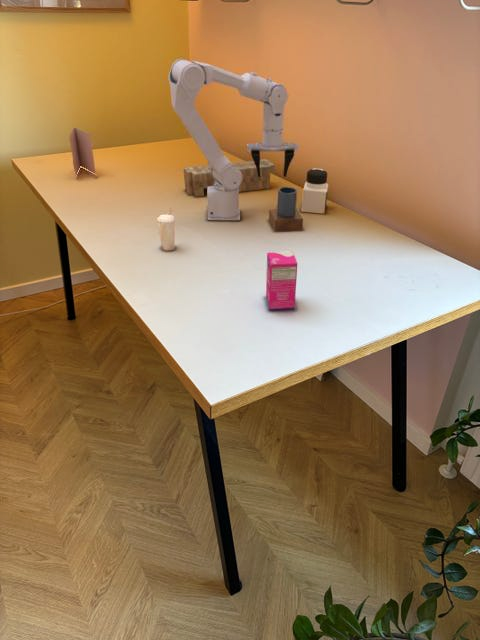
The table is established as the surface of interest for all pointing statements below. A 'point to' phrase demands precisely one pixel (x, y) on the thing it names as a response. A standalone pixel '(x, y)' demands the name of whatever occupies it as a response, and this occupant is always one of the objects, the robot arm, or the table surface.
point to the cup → (286, 202)
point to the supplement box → (281, 280)
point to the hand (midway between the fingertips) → (271, 175)
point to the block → (285, 222)
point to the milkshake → (167, 231)
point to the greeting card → (82, 152)
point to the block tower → (202, 177)
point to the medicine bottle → (315, 192)
